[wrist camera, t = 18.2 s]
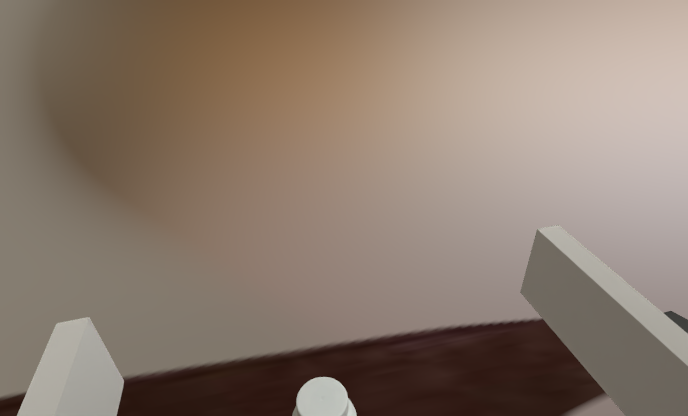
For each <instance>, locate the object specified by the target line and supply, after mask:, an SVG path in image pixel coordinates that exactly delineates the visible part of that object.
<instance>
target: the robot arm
mask: <svg viewBox="0 0 688 416" xmlns="http://www.w3.org/2000/svg"><path fill="white" fill-rule="evenodd" d="M521 294H522V295H523V296H524V297H525V298H526V299H527V301H528V302H529V303H530V304H531V305H532V306H533V307H534V309H535V310H536V311H537V312H538V313H539V315H540V316H541V317H542V318H543V319H544V321H545V322H546V323H547V324H548V325H549V326H550V328H551V329H552V330H553V331H554V332H555V333H556V335H557V336H558V337H559V338H560V339H561V340H562V342H563V343H564V344H565V345H566V346H567V347H568V349H569V350H570V351H571V352H572V353H573V355H574V356H575V357H576V358H577V359H578V360H579V362H580V363H581V364H582V365H583V366H584V367H585V369H586V370H587V371H588V372H589V373H590V374H591V376H592V377H593V378H594V379H595V380H596V381H597V383H598V384H599V385H600V386H601V387H602V389H603V390H604V391H605V392H606V393H607V394H608V396H609V397H610V398H611V399H612V400H613V401H614V403H615V404H616V405H617V406H618V407H619V408H620V410H621V411H622V412H623V413H624V414H625V415H626V416H688V320H687V319H685V318H683V317H682V316H680V315H678V314H676V313H674V312H672V311H669V312H665V313H663V312H661V311H660V310H659V309H658V308H657V307H655V306H654V305H653V304H652V303H651V302H649V301H648V300H647V299H646V298H645V297H643V296H642V295H641V294H640V293H639V292H637V291H636V290H635V289H634V288H633V287H632V286H630V285H629V284H628V283H627V282H626V281H624V280H623V279H622V278H621V277H620V276H619V275H617V274H616V273H615V272H614V271H613V270H611V269H610V268H609V267H608V266H607V265H605V264H604V263H603V262H602V261H601V260H599V259H598V258H597V257H596V256H595V255H593V254H592V253H591V252H590V251H589V250H588V249H586V248H585V247H584V246H583V245H582V244H580V243H579V242H578V241H577V240H576V239H574V238H573V237H572V236H571V235H570V234H569V233H567V232H566V231H565V230H564V229H562V228H561V227H560V226H559V225H556V226H551V227H546V228H540V229H537V232H536V236H535V240H534V243H533V247H532V251H531V255H530V258H529V262H528V265H527V269H526V273H525V277H524V280H523V284H522V288H521ZM123 384H124V380H123V378H122V377H121V375H120V373H119V371H118V369H117V368H116V366H115V364H114V362H113V360H112V358H111V357H110V355H109V353H108V351H107V349H106V347H105V345H104V344H103V342H102V340H101V338H100V336H99V334H98V332H97V331H96V329H95V327H94V325H93V324H92V322H91V320H90V318H89V317H87V318H81V319H77V320H72V321H66V322H61V323H57V324H56V326H55V328H54V331H53V333H52V335H51V338H50V340H49V342H48V345H47V347H46V350H45V352H44V354H43V356H42V359H41V361H40V363H39V366H38V368H37V370H36V372H35V375H34V377H33V379H32V382H31V384H30V386H29V389H28V391H27V393H26V396H25V398H24V400H23V403H22V405H21V407H20V410H19V412H18V414H17V416H117V411H118V407H119V402H120V398H121V393H122V389H123Z"/></svg>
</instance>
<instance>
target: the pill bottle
mask: <svg viewBox="0 0 688 416" xmlns="http://www.w3.org/2000/svg"><path fill="white" fill-rule="evenodd" d="M292 416H357V414H356V411H355V408H354V406H353V404H352V403H351V401H350V400H349V399H348V396H347V392H346V390H345V388H344V387H343V385H342V384H341V383H340V382H338V381H337V380H335V379H333V378H329V377H319V378H314V379H312V380H310V381H308V382H307V383H306V384H305V385H304V386H303V387H302V388H301V389H300V391H299V393H298V395H297V400H296V407H295V409H294V412H293V415H292Z"/></svg>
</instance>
